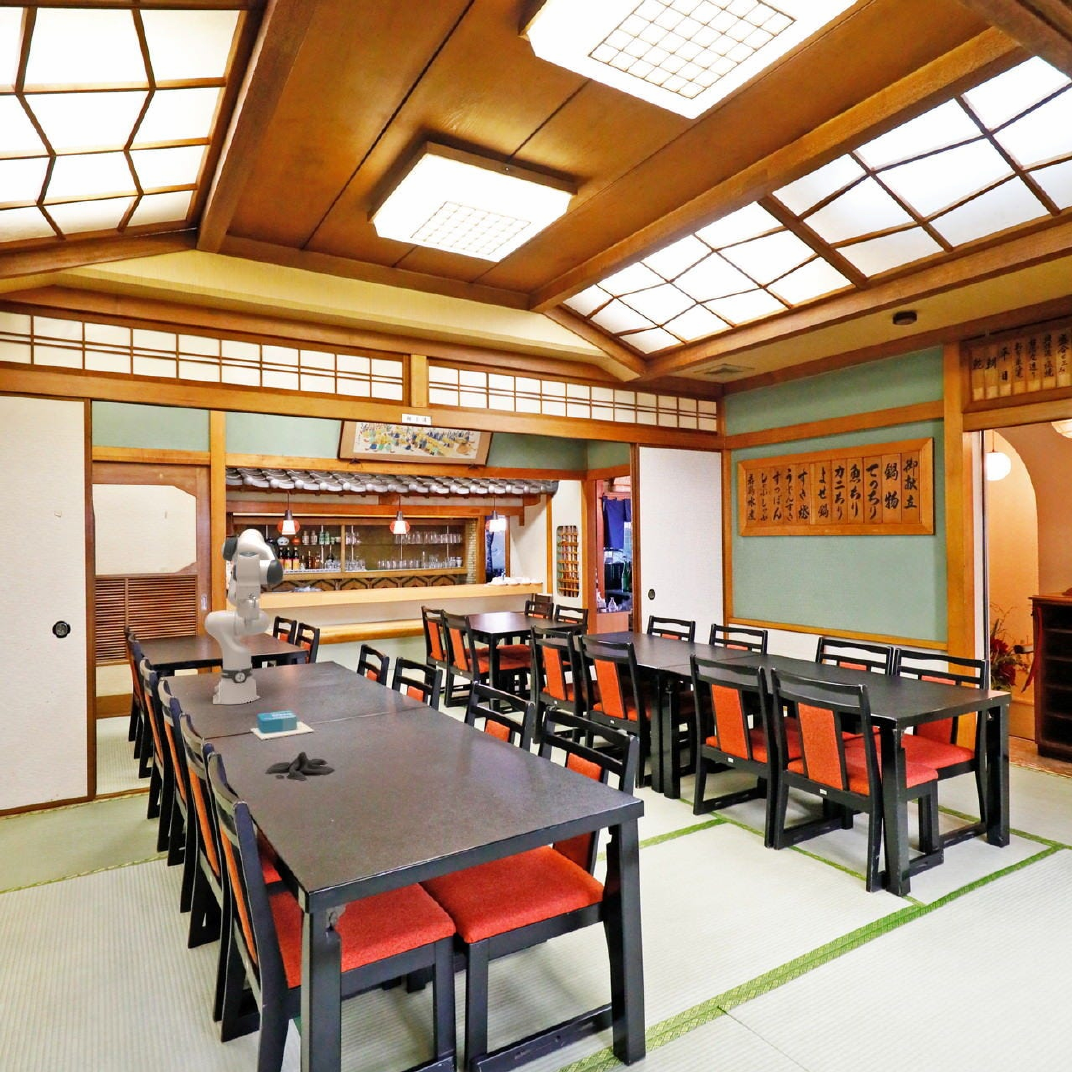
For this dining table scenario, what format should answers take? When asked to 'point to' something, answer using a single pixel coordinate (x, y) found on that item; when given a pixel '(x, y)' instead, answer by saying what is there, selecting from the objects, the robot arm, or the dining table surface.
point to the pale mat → (282, 732)
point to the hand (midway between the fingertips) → (248, 630)
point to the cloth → (300, 768)
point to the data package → (277, 721)
